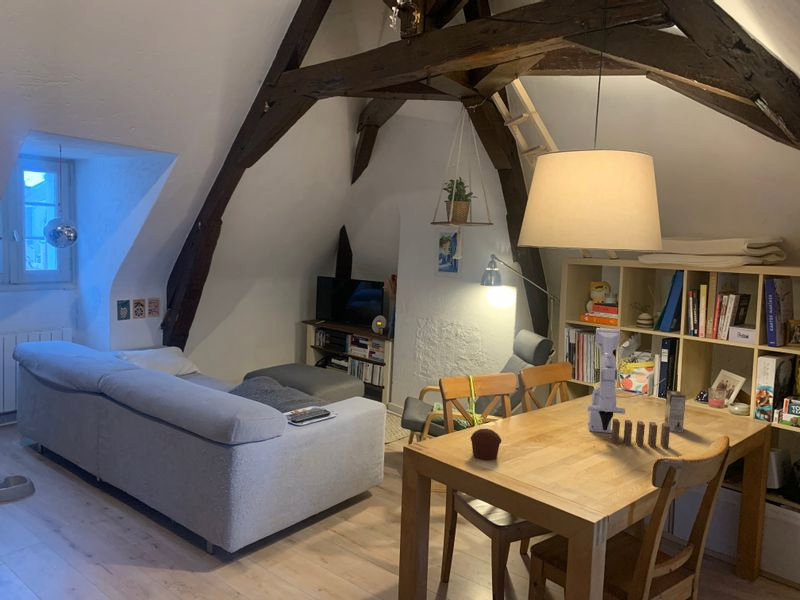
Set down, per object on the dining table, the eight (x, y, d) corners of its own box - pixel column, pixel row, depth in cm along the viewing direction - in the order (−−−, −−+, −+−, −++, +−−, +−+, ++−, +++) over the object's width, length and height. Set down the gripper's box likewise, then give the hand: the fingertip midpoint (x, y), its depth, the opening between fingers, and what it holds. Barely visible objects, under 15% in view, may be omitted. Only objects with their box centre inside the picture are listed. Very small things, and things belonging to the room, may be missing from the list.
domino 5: (662, 448, 253) (664, 426, 252) (660, 444, 258) (662, 422, 257) (668, 448, 252) (670, 426, 252) (665, 444, 257) (667, 423, 256)
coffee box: (663, 425, 286) (666, 390, 284) (678, 426, 285) (681, 391, 283) (667, 431, 277) (670, 394, 275) (683, 432, 276) (686, 396, 274)
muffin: (507, 458, 235) (508, 431, 234) (486, 464, 228) (487, 437, 227) (483, 449, 244) (485, 423, 243) (463, 454, 237) (464, 428, 236)
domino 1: (613, 444, 256) (614, 422, 255) (611, 440, 261) (612, 418, 260) (618, 444, 256) (619, 422, 255) (616, 440, 261) (617, 419, 260)
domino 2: (625, 445, 255) (627, 423, 254) (623, 441, 260) (625, 419, 259) (630, 445, 255) (632, 423, 254) (628, 441, 260) (630, 420, 259)
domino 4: (650, 447, 254) (652, 425, 253) (647, 443, 258) (649, 421, 258) (655, 447, 253) (657, 425, 252) (652, 443, 258) (654, 422, 257)
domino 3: (637, 446, 254) (639, 424, 254) (635, 442, 259) (637, 420, 258) (643, 446, 254) (644, 424, 253) (640, 442, 259) (642, 421, 258)
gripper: (589, 397, 255) (587, 430, 256) (627, 400, 252) (624, 434, 253) (587, 393, 261) (585, 425, 263) (624, 396, 259) (622, 428, 260)
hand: (604, 429), depth 259 cm, fingers closed
